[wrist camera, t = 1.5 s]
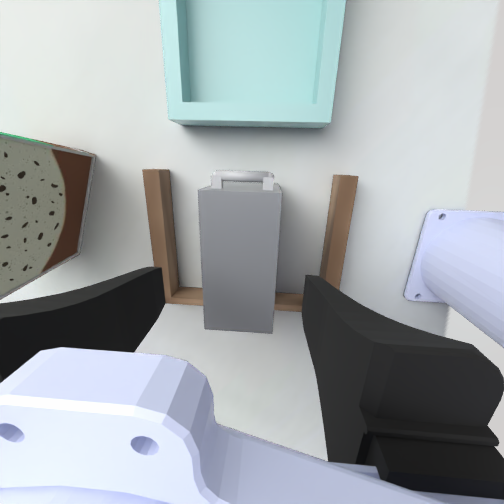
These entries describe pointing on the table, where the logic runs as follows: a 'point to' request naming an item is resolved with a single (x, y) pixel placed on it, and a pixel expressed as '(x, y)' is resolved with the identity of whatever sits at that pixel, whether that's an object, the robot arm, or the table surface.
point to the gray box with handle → (239, 250)
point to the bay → (330, 271)
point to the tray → (251, 61)
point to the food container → (40, 207)
